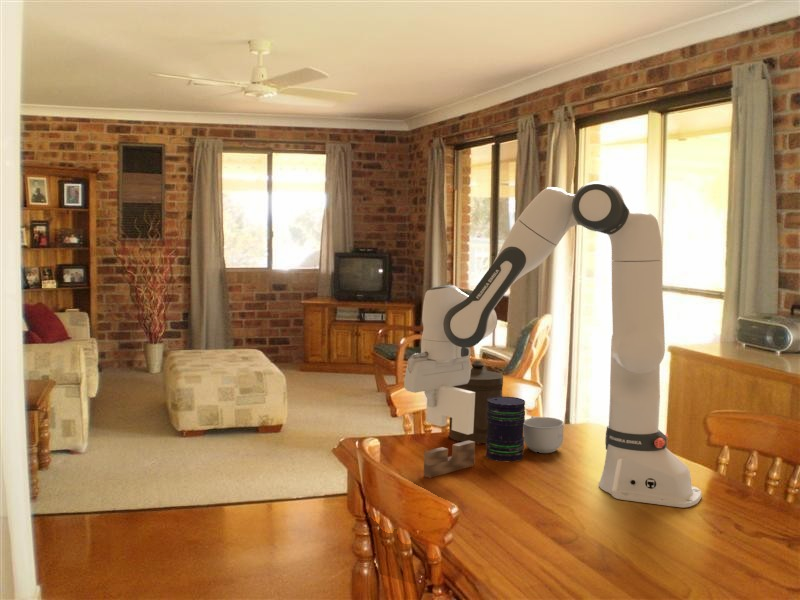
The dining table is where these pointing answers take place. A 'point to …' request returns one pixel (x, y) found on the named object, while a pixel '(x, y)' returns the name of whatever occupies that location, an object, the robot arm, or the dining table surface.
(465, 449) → the grey notched block
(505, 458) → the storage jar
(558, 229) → the robot arm
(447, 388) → the white arch block
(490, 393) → the wooden container
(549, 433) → the teacup
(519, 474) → the dining table surface
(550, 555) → the dining table surface
